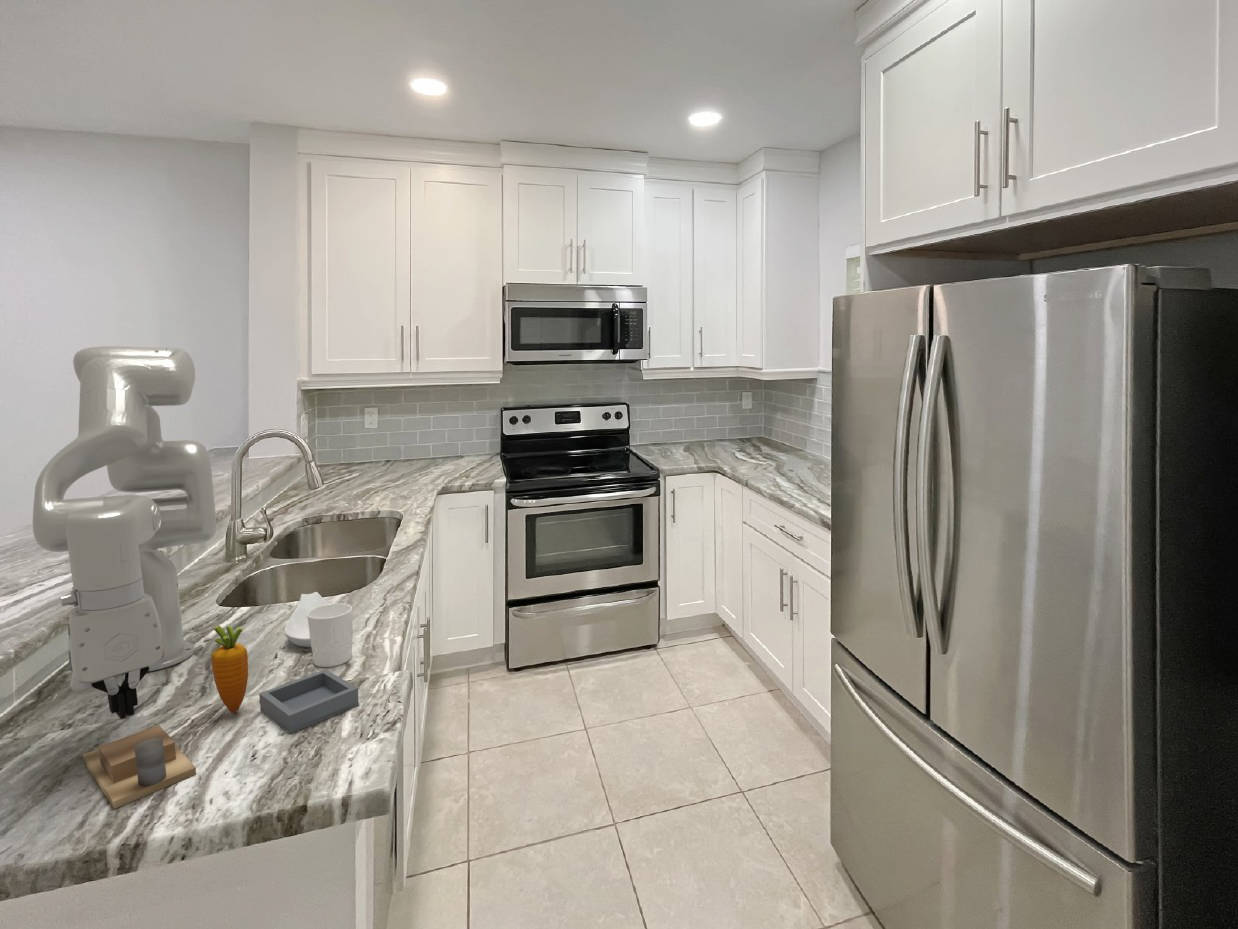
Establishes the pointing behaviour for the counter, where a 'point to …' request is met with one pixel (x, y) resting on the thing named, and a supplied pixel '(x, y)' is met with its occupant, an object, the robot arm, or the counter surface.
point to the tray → (308, 700)
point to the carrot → (230, 668)
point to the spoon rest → (302, 619)
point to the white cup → (330, 634)
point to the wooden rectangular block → (131, 753)
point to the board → (130, 783)
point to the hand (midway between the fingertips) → (124, 713)
